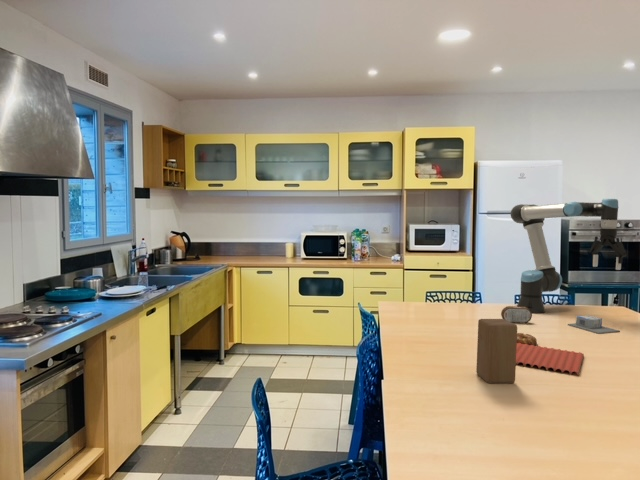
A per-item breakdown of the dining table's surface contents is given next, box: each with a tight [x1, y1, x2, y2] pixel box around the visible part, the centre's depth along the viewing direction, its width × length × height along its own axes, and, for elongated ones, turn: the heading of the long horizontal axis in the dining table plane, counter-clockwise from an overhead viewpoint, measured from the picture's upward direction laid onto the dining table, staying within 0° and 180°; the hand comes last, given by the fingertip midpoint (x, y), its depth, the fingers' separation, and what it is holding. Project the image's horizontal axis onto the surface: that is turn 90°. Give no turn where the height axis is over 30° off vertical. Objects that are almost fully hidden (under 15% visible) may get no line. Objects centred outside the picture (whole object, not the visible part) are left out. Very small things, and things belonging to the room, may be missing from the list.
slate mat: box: [567, 322, 621, 334], centre depth 239 cm, size 18×14×1 cm
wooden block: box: [475, 318, 518, 384], centre depth 163 cm, size 10×10×20 cm
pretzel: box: [517, 332, 538, 346], centre depth 210 cm, size 12×11×4 cm
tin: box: [500, 305, 533, 324], centre depth 249 cm, size 15×3×8 cm, turn 84°
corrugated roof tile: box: [516, 343, 585, 377], centre depth 187 cm, size 28×28×2 cm
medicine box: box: [575, 315, 603, 328], centre depth 241 cm, size 8×4×9 cm
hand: (606, 268), depth 253 cm, fingers open, 13 cm apart
